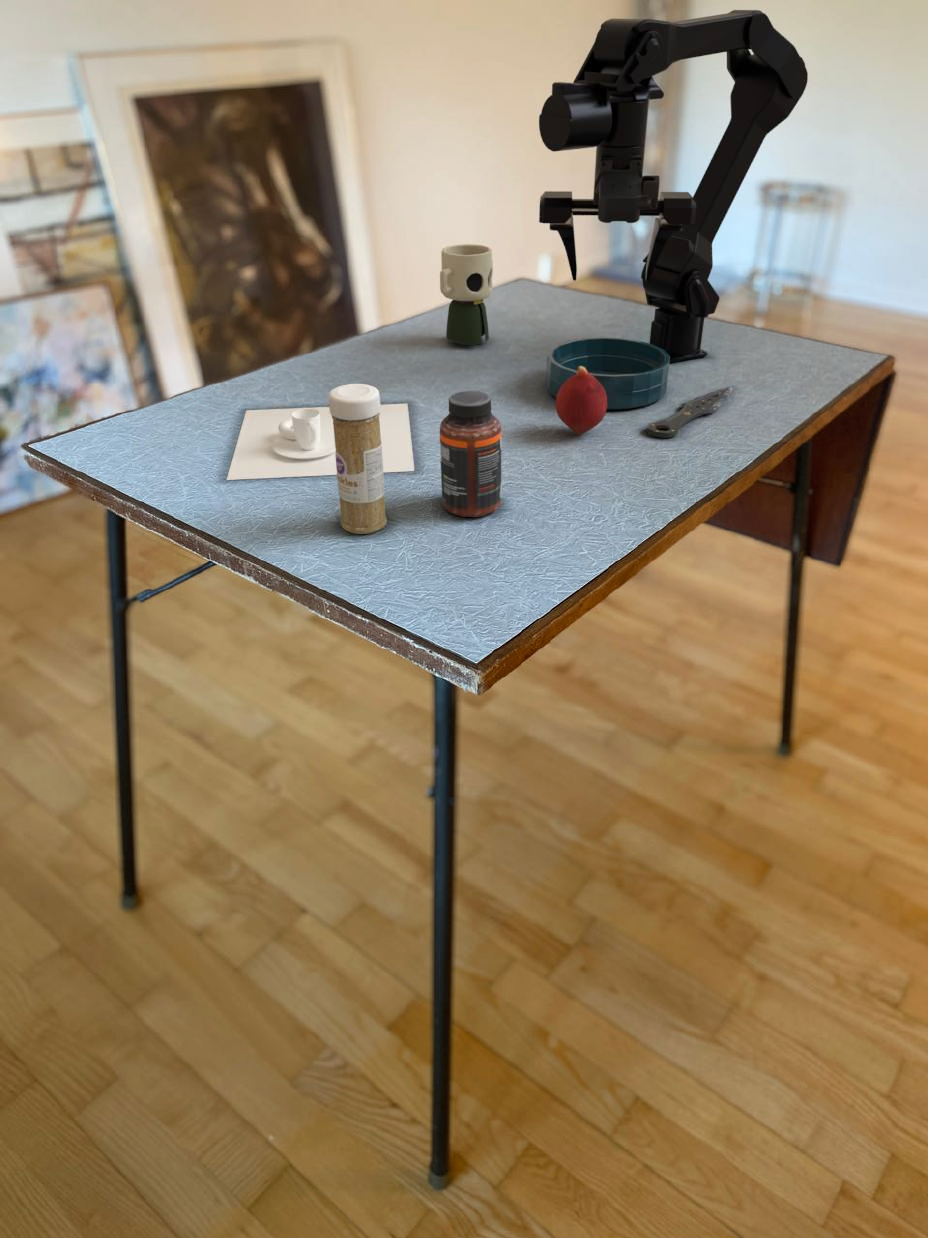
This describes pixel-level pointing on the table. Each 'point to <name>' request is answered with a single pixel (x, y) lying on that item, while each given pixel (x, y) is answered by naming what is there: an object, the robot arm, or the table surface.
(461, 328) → the character mug
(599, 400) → the onion
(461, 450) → the supplement bottle
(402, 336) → the table surface
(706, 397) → the throwing knife
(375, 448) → the sprinkles bottle
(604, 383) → the bowl
